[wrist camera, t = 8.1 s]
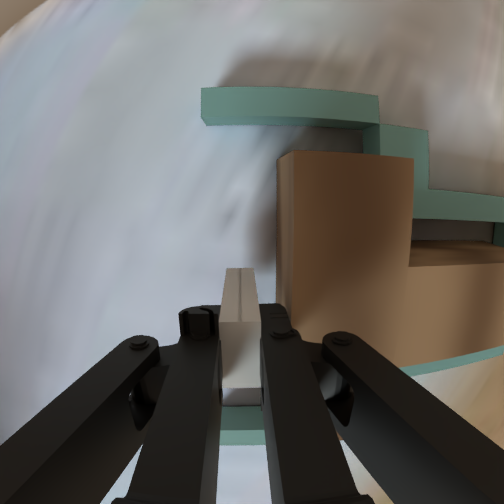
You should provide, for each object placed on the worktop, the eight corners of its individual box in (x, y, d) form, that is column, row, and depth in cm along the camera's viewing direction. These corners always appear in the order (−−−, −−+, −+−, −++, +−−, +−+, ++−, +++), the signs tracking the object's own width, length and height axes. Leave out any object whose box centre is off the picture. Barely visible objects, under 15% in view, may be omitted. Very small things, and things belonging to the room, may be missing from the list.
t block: (273, 382, 20) (283, 445, 14) (276, 160, 17) (293, 149, 11) (459, 358, 21) (500, 398, 15) (486, 177, 18) (546, 182, 12)
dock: (219, 421, 21) (217, 445, 18) (206, 100, 16) (201, 87, 14) (470, 387, 21) (484, 402, 19) (508, 135, 17) (530, 134, 14)
